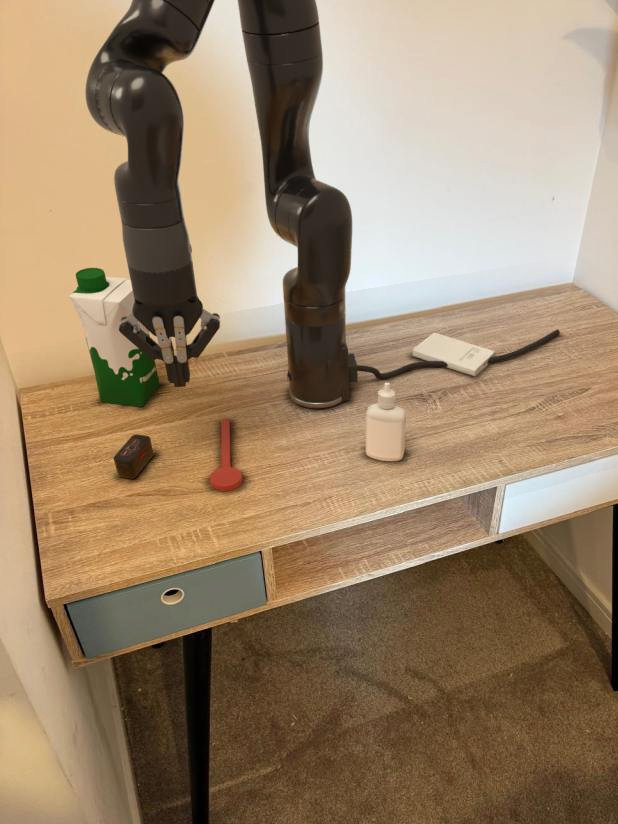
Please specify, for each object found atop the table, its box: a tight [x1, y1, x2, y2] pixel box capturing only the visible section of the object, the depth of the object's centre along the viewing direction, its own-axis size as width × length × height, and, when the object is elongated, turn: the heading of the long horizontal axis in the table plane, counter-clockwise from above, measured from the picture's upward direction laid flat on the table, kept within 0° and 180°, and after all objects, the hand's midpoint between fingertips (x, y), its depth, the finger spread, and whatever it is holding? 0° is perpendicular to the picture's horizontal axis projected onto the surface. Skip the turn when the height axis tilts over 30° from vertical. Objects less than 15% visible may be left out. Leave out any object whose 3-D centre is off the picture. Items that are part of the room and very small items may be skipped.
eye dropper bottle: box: [365, 382, 407, 462], centre depth 105 cm, size 4×6×12 cm
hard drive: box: [411, 332, 497, 377], centre depth 131 cm, size 2×8×12 cm
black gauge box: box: [112, 433, 154, 480], centre depth 105 cm, size 5×7×3 cm, turn 167°
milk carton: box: [68, 267, 161, 408], centre depth 113 cm, size 9×9×20 cm
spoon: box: [209, 418, 243, 492], centre depth 108 cm, size 4×17×1 cm, turn 10°
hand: (180, 384), depth 99 cm, fingers closed
